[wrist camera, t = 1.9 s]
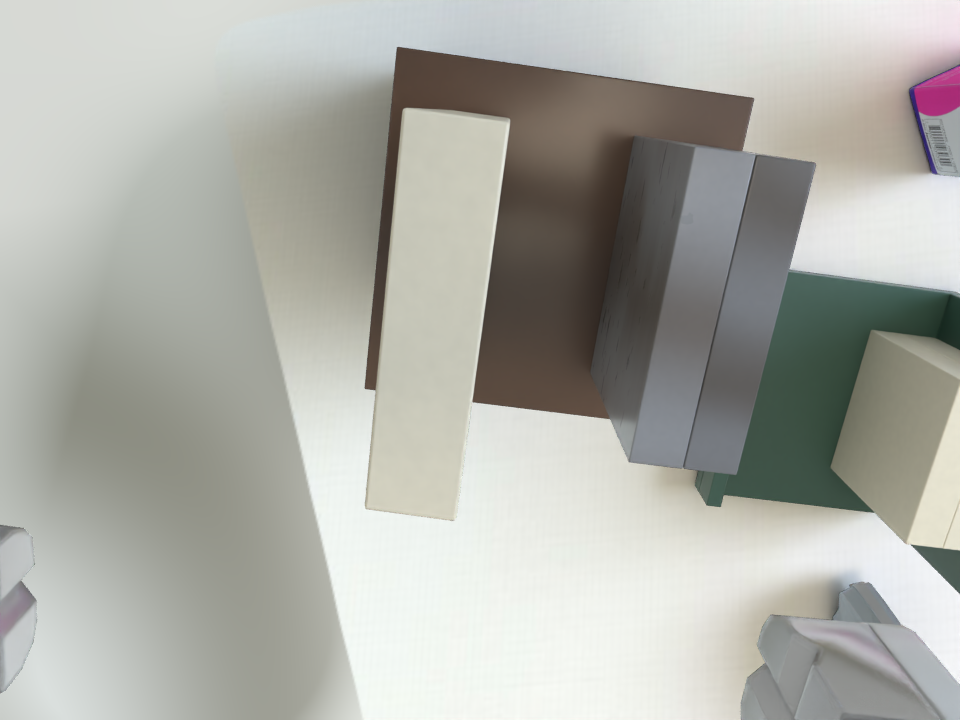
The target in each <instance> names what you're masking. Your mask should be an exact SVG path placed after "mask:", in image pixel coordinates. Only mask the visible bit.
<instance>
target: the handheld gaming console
mask: <svg viewBox="0 0 960 720" xmlns="http://www.w3.org/2000/svg"><path fill="white" fill-rule="evenodd" d="M849 586H850V588H848V589H846V590H844V591H842V592H841V593H839V608H838V610H837V612H836V613H835V615H834V616H833V620H836V621H847V622H857V623H858V622H865V623H878V624H891V625H901V624H900V622H899V621H898V619H897V618H896V617H895V615H894V614H893V612H892V611H891V610H890V608H889V607H888V605H887V604H886V603H885V601H884V600H883V599H882V597H881V596H880V595H879V593H878V592H877V591H876V590H875V588H874V587H873V586H872V584H870V583H869V582H868V583H864V582H859V583H854V584H851V585H849Z"/></svg>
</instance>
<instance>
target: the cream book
mask: <svg viewBox="0 0 960 720" xmlns="http://www.w3.org/2000/svg"><path fill="white" fill-rule="evenodd" d="M509 128H510V119H509V118H505V117H498V116H491V115H483V114H476V113H469V112H461V111H454V110H439V109H421V108H404V109H403V111H402V121H401V131H400V142H399V152H398V163H397V173H396V184H395V194H394V205H393V215H392V226H391V236H390V247H389V257H388V268H387V278H386V288H385V299H384V309H383V320H382V330H381V341H380V351H379V362H378V372H377V383H376V393H375V404H374V414H373V425H372V435H371V446H370V456H369V467H368V477H367V488H366V498H365V508H366V509H369V510H377V511H384V512H392V513H399V514H406V515H414V516H421V517H429V518H436V519H443V520H451V521H454V520H455V519H456V518H457V511H458V503H459V496H460V489H461V481H462V474H463V467H464V459H465V452H466V445H467V437H468V430H469V422H470V415H471V408H472V400H473V393H474V386H475V378H476V371H477V364H478V356H479V349H480V342H481V334H482V327H483V319H484V312H485V305H486V297H487V290H488V283H489V275H490V268H491V261H492V253H493V246H494V239H495V231H496V224H497V217H498V209H499V202H500V194H501V187H502V180H503V172H504V165H505V158H506V150H507V143H508V136H509Z"/></svg>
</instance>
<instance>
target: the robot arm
mask: <svg viewBox="0 0 960 720" xmlns="http://www.w3.org/2000/svg"><path fill="white" fill-rule="evenodd" d="M34 565H35V560H34V548H33V537H32V536H31V535H29V533H28V532H27V531H26V530H25V529H24V528H20V527H13V526H4V525H0V693H2V692H4V691H6V689H7V688H8V687H9V686H10V684H11V683H12V682H13V680H14V679H15V678H16V676H17V675H18V674H19V672H20V671H21V670H22V667H23V665H24V663H25V661H26V658H27V656H28V653H29V651H30V649H31V646H32V644H33V641H34V635H35V629H36V623H37V601H36V599H35V598H34V596H33V595H32V594H31V593H30V591H29V590H28V589H27V588H26V586H25V585H24V584H23V582H22V581H21V580H22V579H23V577H25V575H26V574H27V573H28V572H29V571H30V570H31V568H32V567H33V566H34ZM757 646H758V649H759V651H760V653H761V655H762V657H763V659H764V661H765V664H763V665H762V666H761V667H760V668H759V669H757V670H756V671H755V672H754V673H753V674H751V675H750V676H749V677H748V678H747V681H746V685H745V689H744V693H743V697H742V701H741V720H960V685H959V683H958V682H957V681H956V680H955V679H954V677H953V676H952V675H951V674H950V673H949V672H948V670H947V669H946V668H945V667H944V666H943V664H942V663H941V662H940V661H939V660H938V659H937V657H936V656H935V655H934V654H933V653H932V652H931V650H930V649H929V648H928V647H927V646H926V644H925V643H924V642H923V641H922V640H921V639H920V637H919V636H918V635H917V634H916V633H915V632H914V631H912V630H910V629H908V628H906V627H904V626H902V625H891V624H878V623H865V622H858V623H857V622H847V621H836V620H825V619H814V618H803V617H792V616H781V615H770V616H769V618H768V619H767V621H766V622H765V624H764V625H763V627H762V630H761V633H760V636H759V640H758V643H757Z"/></svg>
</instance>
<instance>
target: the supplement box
mask: <svg viewBox="0 0 960 720" xmlns="http://www.w3.org/2000/svg"><path fill="white" fill-rule="evenodd" d="M909 91H910V96H911V100H912V103H913V107H914V111H915V115H916V118H917V122H918V125H919V129H920V132H921V136H922V139H923V142H924V146H925V150H926V153H927V157H928V160H929V163H930V167H931V171H932V174H939V175H945V176H955V177H960V65H959V66H957V67H955V68H952V69H950V70H948V71H946V72H943V73H941V74H939V75H937V76H935V77H933V78H930V79H928V80H926V81H924V82H922V83H920V84H918V85H916V86H914V87H912V88H911V89H910V90H909Z"/></svg>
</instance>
